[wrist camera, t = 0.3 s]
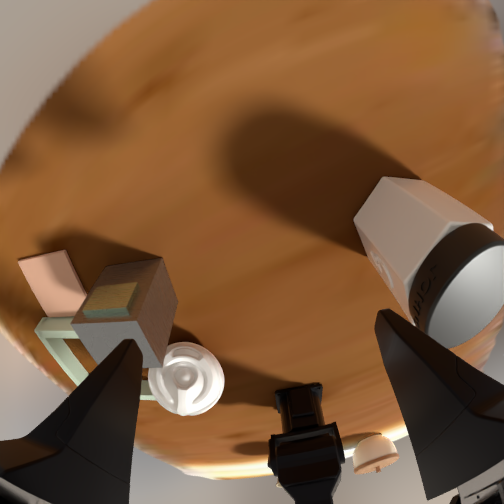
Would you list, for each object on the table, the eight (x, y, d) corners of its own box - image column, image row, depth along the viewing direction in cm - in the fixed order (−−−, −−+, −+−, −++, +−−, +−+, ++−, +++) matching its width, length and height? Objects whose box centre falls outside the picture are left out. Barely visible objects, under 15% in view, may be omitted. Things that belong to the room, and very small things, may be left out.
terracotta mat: (96, 312, 27) (95, 315, 26) (49, 315, 27) (48, 317, 27) (65, 249, 23) (63, 251, 22) (19, 260, 23) (17, 261, 23)
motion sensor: (228, 333, 29) (226, 395, 22) (222, 374, 32) (220, 428, 26) (153, 324, 28) (136, 383, 21) (158, 366, 31) (147, 419, 25)
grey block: (178, 301, 26) (162, 367, 19) (122, 307, 26) (97, 366, 19) (161, 253, 24) (134, 316, 17) (101, 263, 24) (64, 319, 17)
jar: (340, 197, 22) (416, 286, 11) (417, 157, 20) (521, 211, 9) (371, 275, 26) (427, 370, 15) (436, 237, 24) (510, 311, 13)
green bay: (120, 313, 27) (113, 329, 25) (163, 385, 33) (160, 400, 31) (42, 317, 27) (34, 330, 25) (90, 382, 34) (85, 394, 32)
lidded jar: (383, 426, 47) (394, 461, 38) (395, 433, 51) (405, 463, 43) (341, 445, 50) (348, 479, 42) (357, 450, 54) (365, 480, 46)
